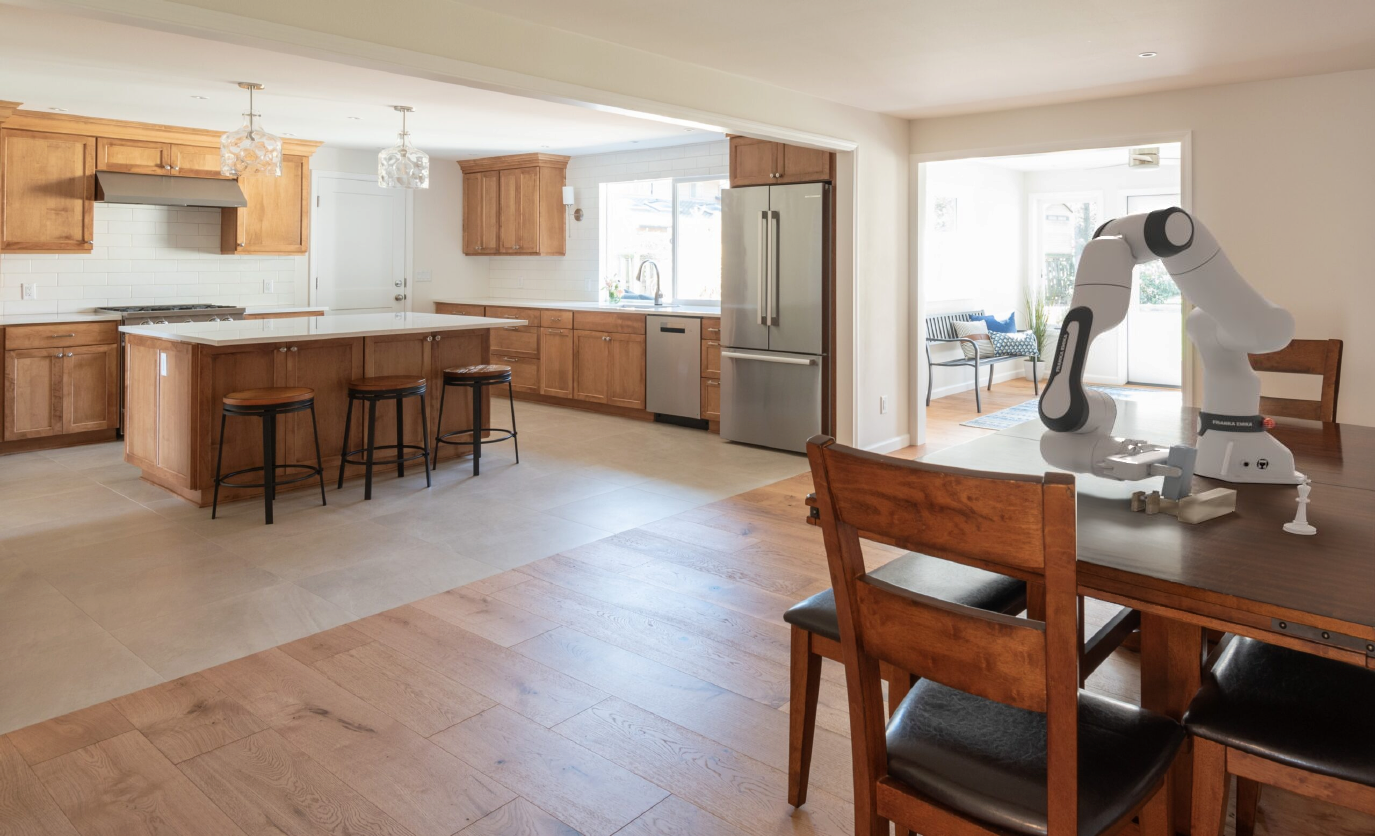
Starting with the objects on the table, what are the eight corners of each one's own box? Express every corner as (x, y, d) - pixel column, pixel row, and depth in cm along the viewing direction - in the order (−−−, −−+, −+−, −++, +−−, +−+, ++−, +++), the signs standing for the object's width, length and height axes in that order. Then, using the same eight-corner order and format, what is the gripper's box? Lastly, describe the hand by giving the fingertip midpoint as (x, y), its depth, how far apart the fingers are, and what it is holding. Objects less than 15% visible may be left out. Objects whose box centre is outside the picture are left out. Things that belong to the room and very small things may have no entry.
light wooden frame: (1130, 510, 170) (1131, 490, 169) (1171, 498, 179) (1173, 479, 179) (1194, 524, 161) (1196, 502, 160) (1234, 510, 170) (1236, 490, 169)
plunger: (1139, 500, 169) (1139, 494, 169) (1153, 496, 172) (1154, 490, 172) (1145, 501, 168) (1145, 495, 168) (1160, 497, 171) (1160, 491, 171)
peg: (1160, 495, 171) (1170, 446, 169) (1171, 492, 173) (1180, 443, 171) (1181, 501, 168) (1191, 451, 166) (1191, 498, 170) (1201, 449, 168)
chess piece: (1282, 525, 160) (1288, 471, 158) (1316, 529, 157) (1322, 475, 155) (1282, 532, 156) (1288, 476, 154) (1316, 536, 153) (1322, 480, 151)
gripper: (1090, 449, 173) (1161, 461, 162) (1144, 438, 185) (1214, 448, 174) (1088, 480, 174) (1158, 494, 163) (1141, 467, 186) (1211, 479, 175)
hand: (1187, 470), depth 168 cm, fingers closed on peg, 4 cm apart
